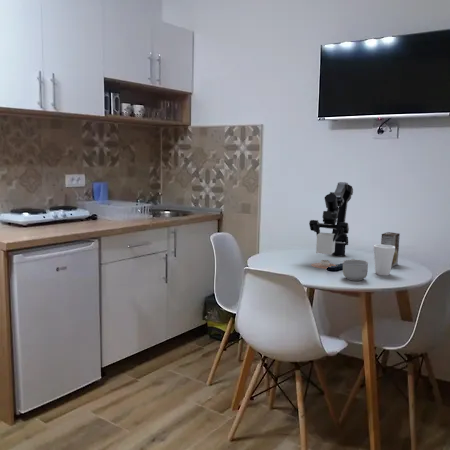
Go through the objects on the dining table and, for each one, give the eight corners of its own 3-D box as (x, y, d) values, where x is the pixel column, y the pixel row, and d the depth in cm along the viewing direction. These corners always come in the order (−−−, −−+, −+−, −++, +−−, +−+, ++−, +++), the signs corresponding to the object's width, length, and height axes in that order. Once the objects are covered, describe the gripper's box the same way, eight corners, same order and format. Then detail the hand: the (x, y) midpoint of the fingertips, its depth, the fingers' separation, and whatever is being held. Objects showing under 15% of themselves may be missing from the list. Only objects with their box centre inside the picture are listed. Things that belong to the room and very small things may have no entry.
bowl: (327, 264, 227) (328, 260, 227) (329, 266, 223) (330, 261, 223) (319, 264, 227) (320, 259, 227) (321, 266, 223) (321, 261, 223)
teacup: (366, 283, 196) (367, 265, 195) (340, 280, 199) (341, 262, 198) (367, 276, 209) (368, 258, 208) (343, 273, 212) (344, 256, 211)
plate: (334, 264, 232) (334, 263, 232) (341, 270, 219) (341, 269, 219) (308, 263, 232) (308, 262, 232) (314, 269, 219) (314, 268, 219)
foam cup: (379, 276, 208) (381, 248, 207) (367, 271, 217) (369, 244, 215) (397, 275, 211) (399, 247, 209) (385, 270, 220) (387, 244, 218)
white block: (319, 250, 229) (320, 232, 228) (334, 251, 226) (335, 233, 225) (316, 252, 223) (317, 234, 221) (331, 254, 220) (332, 235, 218)
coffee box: (385, 262, 240) (387, 231, 237) (397, 264, 236) (400, 233, 233) (378, 265, 233) (381, 233, 230) (391, 267, 228) (394, 235, 226)
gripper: (311, 203, 229) (304, 228, 220) (349, 206, 221) (343, 231, 212) (314, 217, 237) (307, 242, 228) (351, 220, 229) (345, 245, 221)
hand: (325, 240), depth 222 cm, fingers closed on white block, 7 cm apart
